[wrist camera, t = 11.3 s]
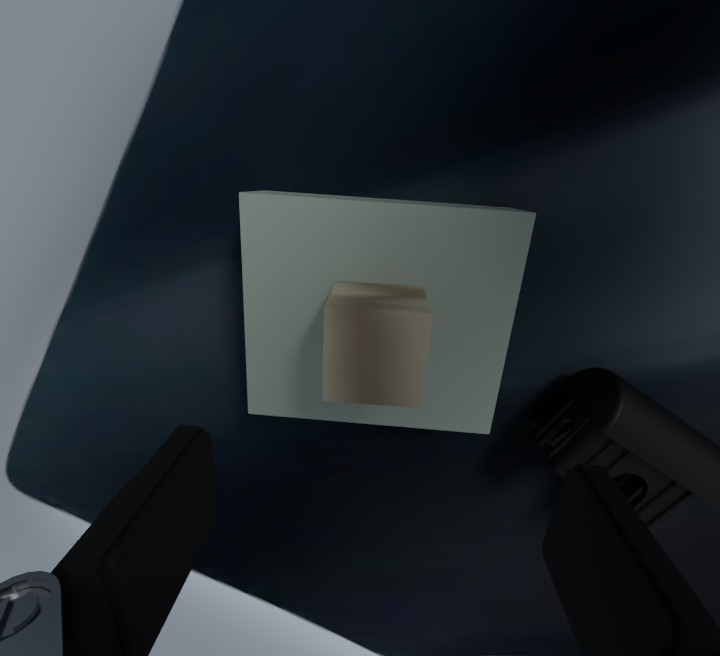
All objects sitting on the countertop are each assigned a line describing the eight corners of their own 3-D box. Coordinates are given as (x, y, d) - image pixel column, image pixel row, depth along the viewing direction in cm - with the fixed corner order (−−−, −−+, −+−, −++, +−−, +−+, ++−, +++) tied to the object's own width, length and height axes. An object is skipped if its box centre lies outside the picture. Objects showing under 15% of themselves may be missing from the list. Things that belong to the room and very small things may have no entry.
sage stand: (508, 207, 26) (536, 213, 21) (473, 395, 31) (489, 434, 26) (264, 190, 26) (239, 192, 21) (268, 378, 31) (248, 413, 26)
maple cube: (422, 286, 23) (433, 313, 18) (414, 364, 24) (421, 408, 20) (336, 280, 23) (324, 306, 18) (333, 359, 25) (322, 400, 20)
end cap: (682, 416, 30) (761, 478, 24) (612, 476, 33) (668, 547, 26) (584, 348, 29) (641, 395, 22) (519, 416, 31) (554, 476, 25)
